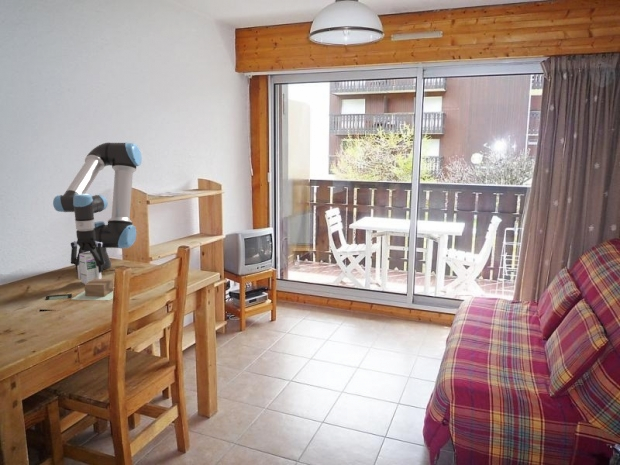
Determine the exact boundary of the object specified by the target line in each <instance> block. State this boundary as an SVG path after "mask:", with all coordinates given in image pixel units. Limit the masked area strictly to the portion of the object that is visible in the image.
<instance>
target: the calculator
mask: <svg viewBox="0 0 620 465" xmlns="http://www.w3.org/2000/svg"><path fill="white" fill-rule="evenodd" d="M72 298H73V294H72V293H68V294H67V293H66V294H54V295H53V294H52V295H50V294H49V295H46V296H45V301H51V300H52V301H53V300H67V299H72ZM38 311H39V312H49V311H53V312H54V311H55V309H41V308H40V309H39V310H38Z"/></svg>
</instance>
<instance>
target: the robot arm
mask: <svg viewBox="0 0 620 465" xmlns="http://www.w3.org/2000/svg"><path fill="white" fill-rule="evenodd" d="M141 164H142V153H141V150H140V148H139V146H138V145H137V144H136V143H134V142H105V143H101V144H99V145H97V146H95V147H94V148H92V149H91V150H90V152H89V153H88V154H87V155H86V157H85V158H84V164H83V165H82V166H81V168H80V169H79V171H78V172H77V174H76V175H75V177H74V178H73V180H72V181H71V183H70V184H69V186H68V188H67V189H66V191H65V192H64V193H63V194H60V195H56V196H54V198H53V202H52V205H53V208H54V210H55V211H57V212H58V213H59V212H61V213H74V220H75V229H76V232H75V233H76V239H77V240H76V241H75V240H74V241H71V242H70V246H71V254H70V264H71V265H75V271H76V273H77V275H78V276H77V278H78V280H79V281H81V273H80V264H79V259H80V257H79V254H80V253H84V252H89V251H90V252H91V253H92V255H93V257H94V259H95V261H96V263H97V266H96V272H97V279H103V277H102V272H104V270H107V269H109V268H111V267H112V261H111V259H110V256H109V254H108V251H107V248H109V249H129V248H131V247H132V246H134V243H135V242H136V238H137V228H136V226H135V225H134V224H133V221H132V220H131V219H130V217H131V205H132V204H131V203H132V190H133V174H134V173H135V172H136V171H137V167H139V166H141ZM107 166H111V169H113V171H114V179H113V181H114V182H113V192H112V205H111V206H112V207H111V217H110V218H109V219H108V220H107V224H106V223H105V221H103V220H102V221H95V218H94V217H95V215H94V214H96V213H100V212H103V211H105V210H106V209H107V208H108V200H107V198H106V196H104V195H102V194H95V195H92V194H90V193H87V192H88V190H89V188H90V187H91V185H92V184H93V182H94V180H95V178H96V177H97V176H98V174H99V172H100V171H103V169H104V168H105V167H107ZM78 246H79V248H78Z"/></svg>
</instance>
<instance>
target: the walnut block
mask: <svg viewBox="0 0 620 465" xmlns="http://www.w3.org/2000/svg"><path fill="white" fill-rule="evenodd" d="M113 280H114V279H112V278H105V279H104V278H102V279H93V280H91V281H90V282H88V283H86V284H84V283H83V284H84V291H85V296H94V297H105V296H106V295H108V294H109V293H111V292H112V291H113V288H114V281H113Z"/></svg>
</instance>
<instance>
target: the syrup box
mask: <svg viewBox="0 0 620 465" xmlns="http://www.w3.org/2000/svg"><path fill="white" fill-rule="evenodd" d="M79 257H80V259H79V264H80V273H81V280H80V281H81V283H82V284H86V283H88V282H90V281H91V280H93V279H97V272H96V266H97V263H96V261H95V259H94V257H93V255H92V253H91V252H90V251H89V252H84V253H80V254H79Z"/></svg>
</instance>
